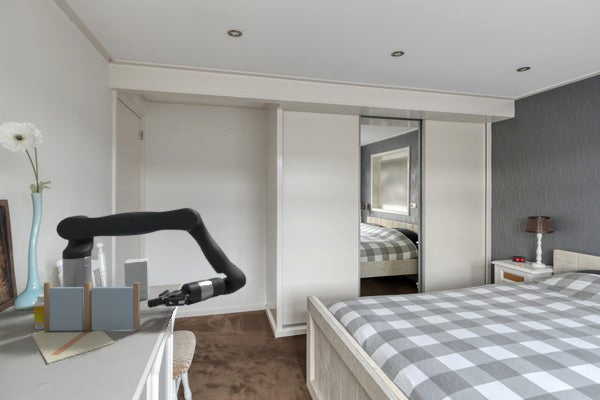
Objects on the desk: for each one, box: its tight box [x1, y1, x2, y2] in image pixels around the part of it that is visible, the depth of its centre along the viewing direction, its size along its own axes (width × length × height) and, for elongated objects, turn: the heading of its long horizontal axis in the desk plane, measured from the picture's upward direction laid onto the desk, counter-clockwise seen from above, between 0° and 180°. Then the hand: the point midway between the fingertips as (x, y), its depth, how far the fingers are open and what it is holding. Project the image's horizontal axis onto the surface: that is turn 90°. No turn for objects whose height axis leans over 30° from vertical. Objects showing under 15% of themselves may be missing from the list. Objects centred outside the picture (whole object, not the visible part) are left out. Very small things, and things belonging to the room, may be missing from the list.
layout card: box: [31, 329, 115, 365], centre depth 91 cm, size 23×15×1 cm, turn 48°
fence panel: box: [91, 282, 141, 331], centre depth 96 cm, size 14×1×14 cm, turn 93°
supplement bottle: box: [33, 292, 44, 330], centre depth 99 cm, size 6×6×10 cm
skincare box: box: [123, 257, 150, 301], centre depth 125 cm, size 8×7×16 cm
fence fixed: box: [43, 281, 93, 333], centre depth 95 cm, size 14×2×15 cm, turn 94°
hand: (148, 304), depth 100 cm, fingers closed
